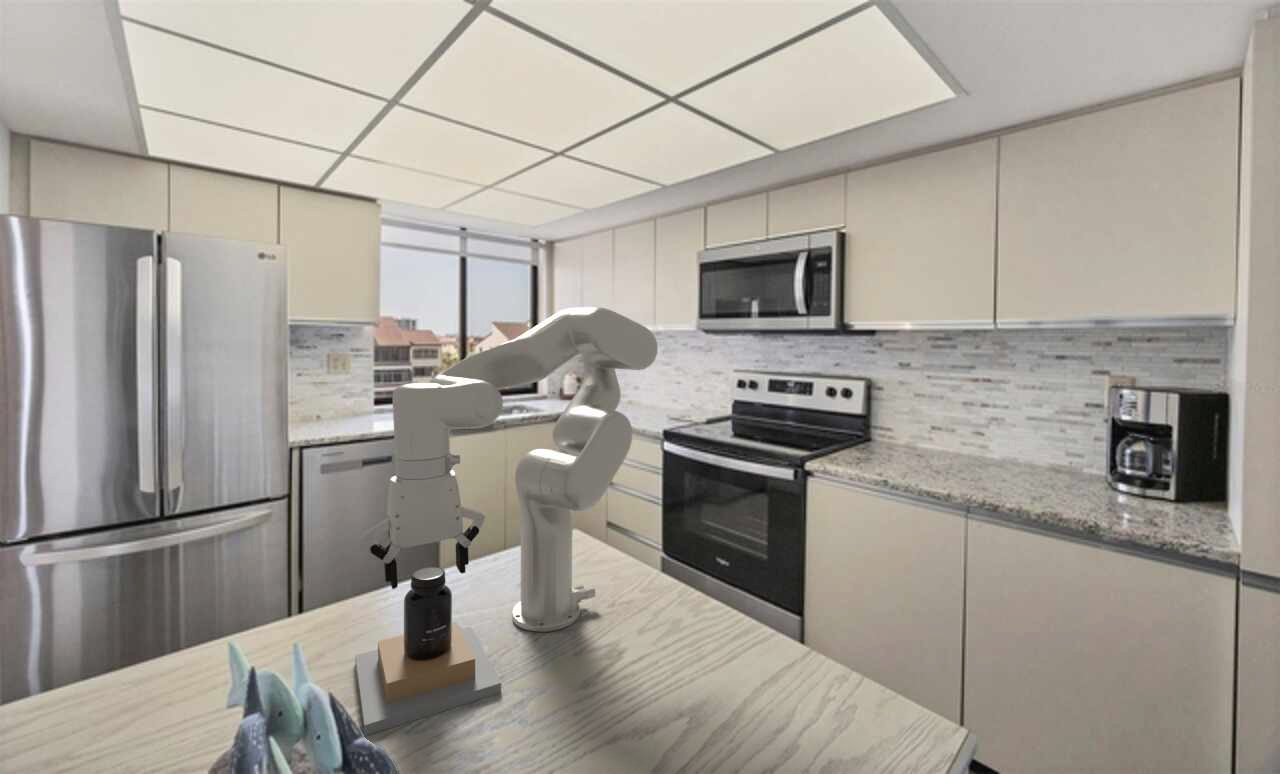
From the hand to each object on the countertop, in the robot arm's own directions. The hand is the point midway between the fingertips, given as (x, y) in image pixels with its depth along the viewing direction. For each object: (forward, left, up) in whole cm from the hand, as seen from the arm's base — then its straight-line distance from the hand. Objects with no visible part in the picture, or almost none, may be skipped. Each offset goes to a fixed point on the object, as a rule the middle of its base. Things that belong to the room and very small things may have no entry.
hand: (428, 577), depth 82 cm
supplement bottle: (0, 0, -11) cm, 11 cm away
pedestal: (+1, 0, -16) cm, 16 cm away
